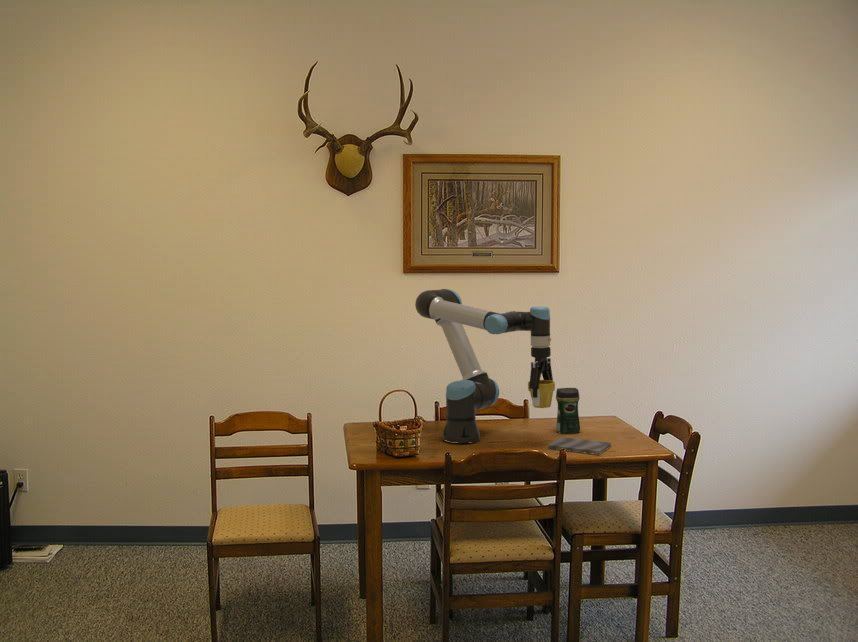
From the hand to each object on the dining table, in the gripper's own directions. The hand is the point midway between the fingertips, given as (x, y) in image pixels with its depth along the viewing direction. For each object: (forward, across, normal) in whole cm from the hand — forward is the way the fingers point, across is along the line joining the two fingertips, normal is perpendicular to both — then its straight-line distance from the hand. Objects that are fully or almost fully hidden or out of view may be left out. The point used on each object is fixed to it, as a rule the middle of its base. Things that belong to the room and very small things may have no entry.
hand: (541, 403), depth 280 cm
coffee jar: (+16, +23, -2) cm, 28 cm away
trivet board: (+16, +1, -15) cm, 22 cm away
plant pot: (+2, 0, 0) cm, 2 cm away
